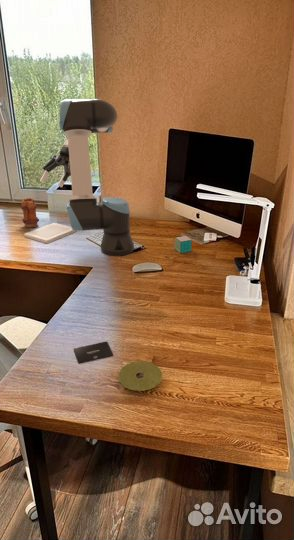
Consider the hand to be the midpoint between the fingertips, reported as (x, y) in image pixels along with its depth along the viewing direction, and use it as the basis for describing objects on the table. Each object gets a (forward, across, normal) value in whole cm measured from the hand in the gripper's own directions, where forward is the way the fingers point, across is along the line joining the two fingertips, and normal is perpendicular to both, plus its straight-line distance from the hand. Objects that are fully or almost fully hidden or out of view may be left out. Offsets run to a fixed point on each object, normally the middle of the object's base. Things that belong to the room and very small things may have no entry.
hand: (50, 184), depth 208 cm
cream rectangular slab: (+24, -13, -4) cm, 28 cm away
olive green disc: (+66, -113, +40) cm, 137 cm away
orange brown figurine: (+24, +2, -5) cm, 25 cm away
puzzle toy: (+10, -78, -18) cm, 80 cm away
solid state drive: (+66, -95, +38) cm, 122 cm away
